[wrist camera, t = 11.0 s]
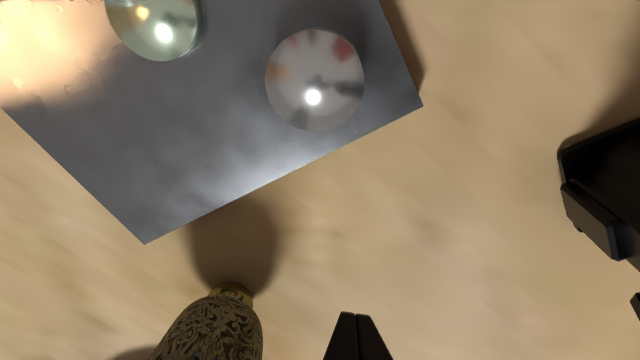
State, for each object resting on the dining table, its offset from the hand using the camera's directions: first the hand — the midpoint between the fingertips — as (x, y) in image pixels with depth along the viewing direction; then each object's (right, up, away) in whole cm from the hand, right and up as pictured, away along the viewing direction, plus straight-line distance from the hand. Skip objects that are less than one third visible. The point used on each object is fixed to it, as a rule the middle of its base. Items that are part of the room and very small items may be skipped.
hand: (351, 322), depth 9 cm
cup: (-8, -5, +17) cm, 20 cm away
